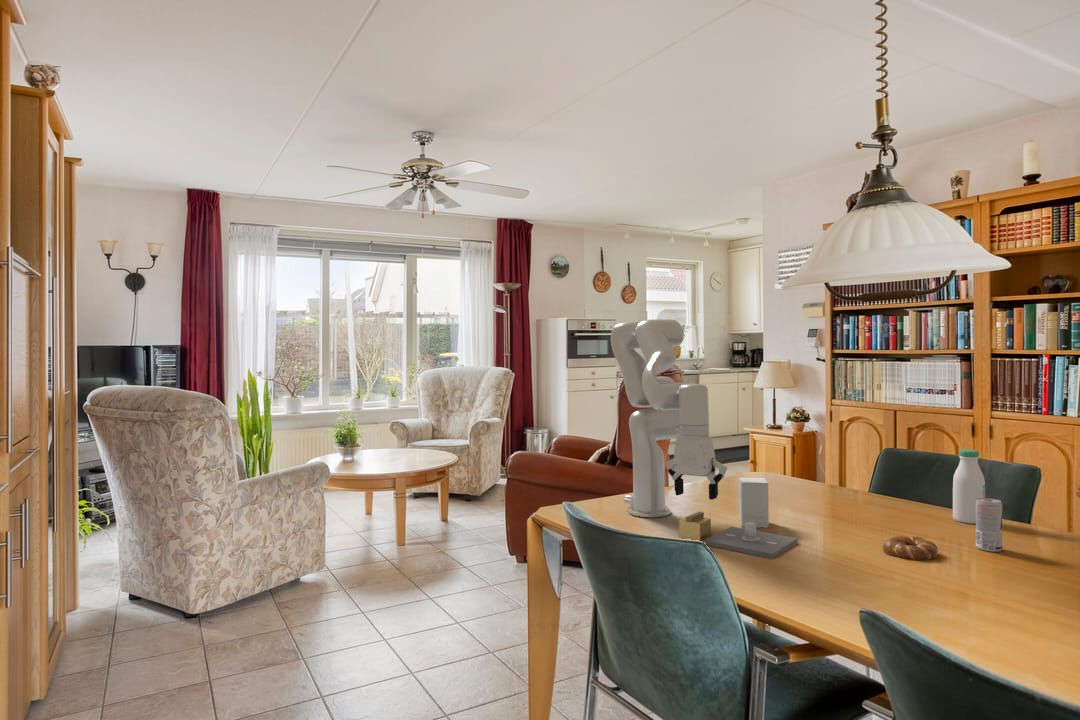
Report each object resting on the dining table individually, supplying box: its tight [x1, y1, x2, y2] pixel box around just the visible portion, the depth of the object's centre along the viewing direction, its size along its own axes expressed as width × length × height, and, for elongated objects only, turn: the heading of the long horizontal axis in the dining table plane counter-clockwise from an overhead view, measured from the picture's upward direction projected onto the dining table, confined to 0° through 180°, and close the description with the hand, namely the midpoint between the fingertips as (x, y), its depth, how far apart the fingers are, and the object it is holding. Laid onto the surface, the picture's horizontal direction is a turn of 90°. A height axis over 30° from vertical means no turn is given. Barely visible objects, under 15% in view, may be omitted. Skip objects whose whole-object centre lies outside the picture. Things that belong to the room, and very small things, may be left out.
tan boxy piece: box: [678, 511, 712, 543], centre depth 175 cm, size 7×6×6 cm
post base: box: [703, 522, 799, 560], centre depth 170 cm, size 18×16×5 cm
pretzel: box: [882, 535, 939, 561], centre depth 160 cm, size 12×11×4 cm
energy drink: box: [975, 497, 1003, 553], centre depth 163 cm, size 5×5×12 cm
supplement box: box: [738, 477, 770, 529], centre depth 188 cm, size 7×7×13 cm
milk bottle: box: [952, 448, 986, 525], centre depth 187 cm, size 8×8×20 cm
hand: (696, 496), depth 174 cm, fingers open, 9 cm apart
